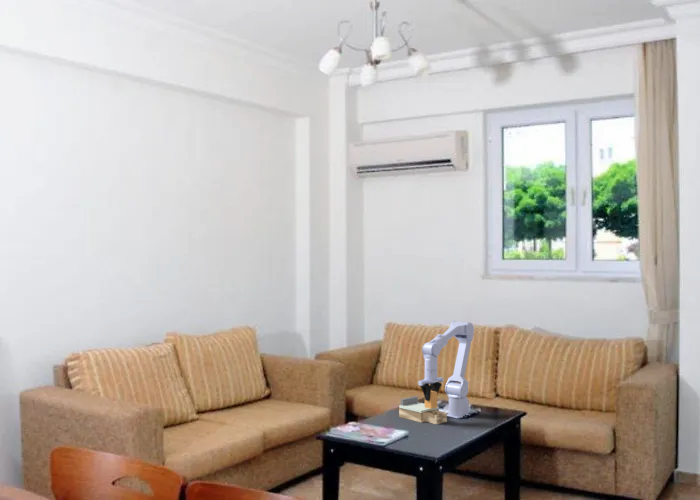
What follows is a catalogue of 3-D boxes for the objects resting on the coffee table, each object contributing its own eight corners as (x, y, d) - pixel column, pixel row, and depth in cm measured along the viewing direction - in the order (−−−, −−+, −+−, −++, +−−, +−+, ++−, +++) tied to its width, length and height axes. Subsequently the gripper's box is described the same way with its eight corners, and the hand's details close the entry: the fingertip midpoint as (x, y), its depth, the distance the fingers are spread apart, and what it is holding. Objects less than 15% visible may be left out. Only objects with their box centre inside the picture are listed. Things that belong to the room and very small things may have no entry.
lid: (416, 403, 349) (416, 395, 349) (439, 408, 339) (439, 400, 339) (399, 407, 341) (399, 399, 341) (421, 412, 331) (421, 404, 331)
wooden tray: (416, 412, 349) (416, 404, 349) (450, 420, 333) (450, 412, 333) (399, 416, 341) (399, 408, 341) (432, 425, 325) (432, 416, 325)
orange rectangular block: (430, 405, 332) (430, 390, 332) (437, 407, 329) (437, 391, 329) (424, 407, 329) (424, 391, 329) (431, 408, 326) (431, 393, 326)
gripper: (426, 372, 321) (426, 403, 321) (448, 368, 331) (448, 398, 331) (414, 370, 327) (414, 400, 327) (436, 366, 336) (436, 396, 336)
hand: (430, 399), depth 329 cm, fingers closed on orange rectangular block, 4 cm apart
